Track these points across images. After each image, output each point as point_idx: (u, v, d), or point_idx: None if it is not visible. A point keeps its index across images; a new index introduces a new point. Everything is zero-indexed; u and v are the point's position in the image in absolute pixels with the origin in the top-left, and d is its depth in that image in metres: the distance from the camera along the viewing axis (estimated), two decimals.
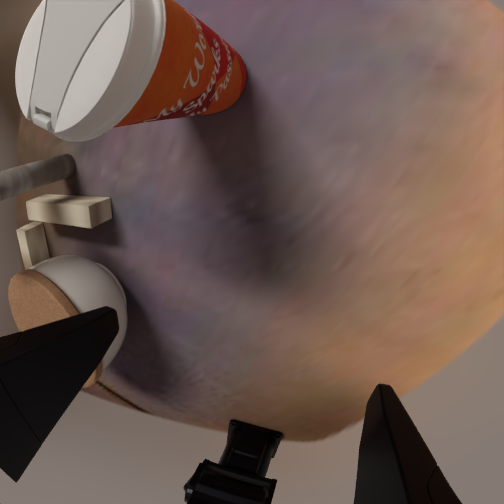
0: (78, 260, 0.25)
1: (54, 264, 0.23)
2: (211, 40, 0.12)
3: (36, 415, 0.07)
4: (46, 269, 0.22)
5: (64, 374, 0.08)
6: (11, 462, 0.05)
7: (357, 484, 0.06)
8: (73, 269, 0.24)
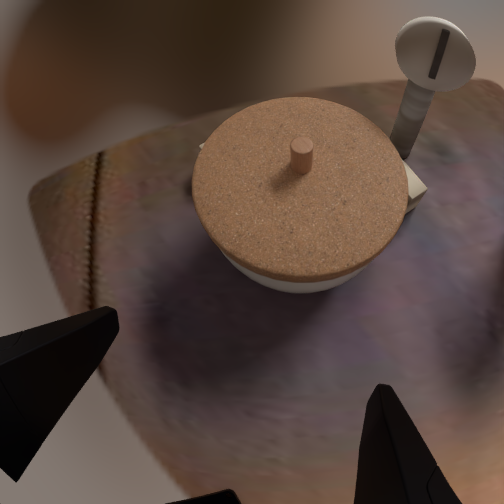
0: None
1: None
2: None
3: (36, 415, 0.07)
4: None
5: (64, 374, 0.08)
6: (11, 462, 0.05)
7: (357, 484, 0.06)
8: None
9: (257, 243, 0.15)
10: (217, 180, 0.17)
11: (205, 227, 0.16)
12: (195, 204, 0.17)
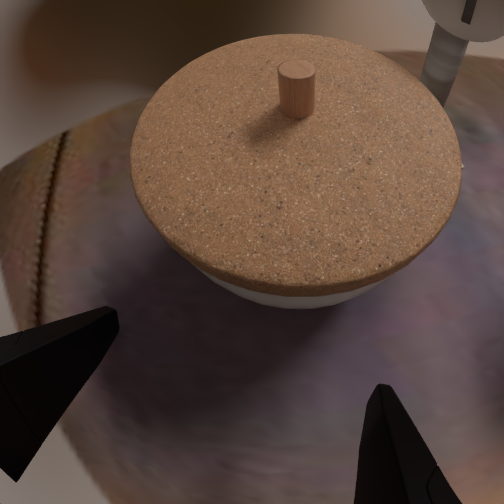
0: None
1: None
2: None
3: (36, 415, 0.07)
4: None
5: (64, 374, 0.08)
6: (11, 462, 0.05)
7: (357, 484, 0.06)
8: None
9: (219, 226, 0.09)
10: (165, 132, 0.10)
11: (140, 203, 0.10)
12: (131, 169, 0.10)
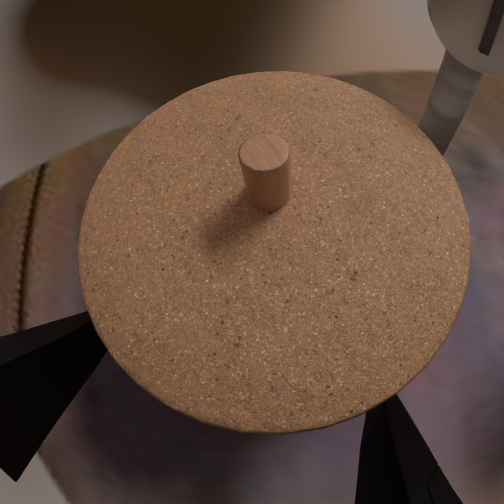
0: None
1: None
2: None
3: (36, 415, 0.07)
4: None
5: (64, 374, 0.08)
6: (11, 462, 0.05)
7: (358, 484, 0.06)
8: None
9: (170, 362, 0.07)
10: (113, 223, 0.09)
11: (90, 314, 0.08)
12: (79, 268, 0.09)
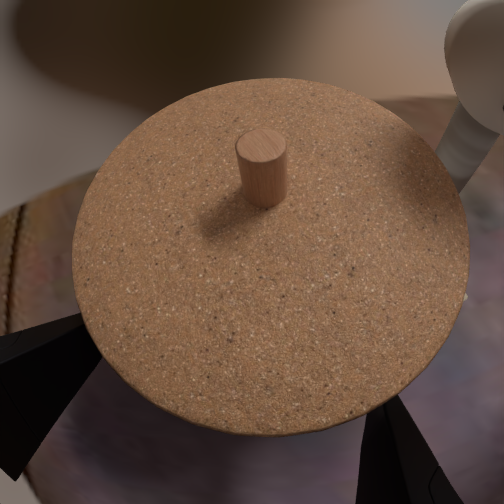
0: None
1: None
2: None
3: (35, 414, 0.07)
4: None
5: (63, 373, 0.08)
6: (10, 461, 0.05)
7: (359, 484, 0.06)
8: None
9: (160, 358, 0.07)
10: (108, 219, 0.09)
11: (80, 310, 0.08)
12: (72, 263, 0.08)
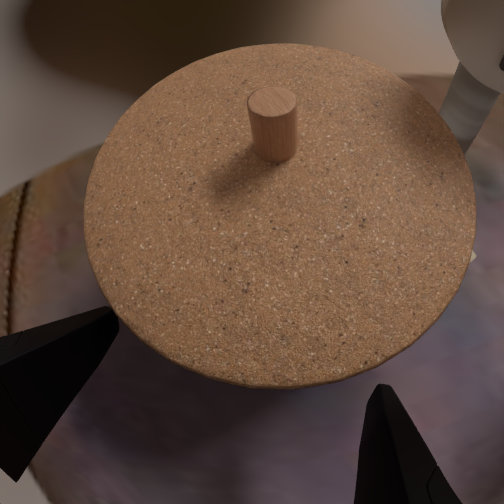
0: None
1: None
2: None
3: (36, 415, 0.07)
4: None
5: (64, 374, 0.08)
6: (11, 462, 0.05)
7: (357, 484, 0.06)
8: None
9: (175, 312, 0.07)
10: (120, 180, 0.09)
11: (93, 270, 0.08)
12: (84, 226, 0.09)
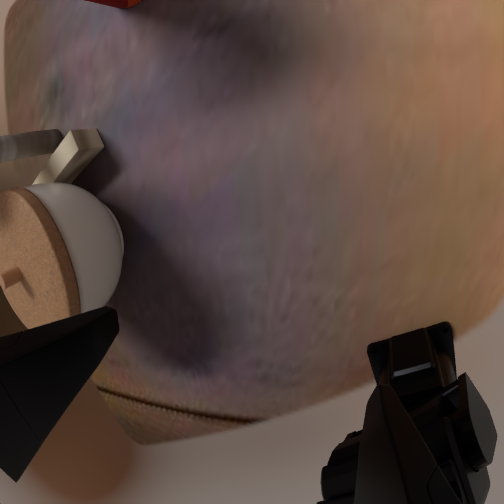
0: None
1: None
2: None
3: (36, 415, 0.07)
4: None
5: (64, 374, 0.08)
6: (11, 462, 0.05)
7: (357, 484, 0.06)
8: None
9: (57, 315, 0.18)
10: None
11: None
12: None
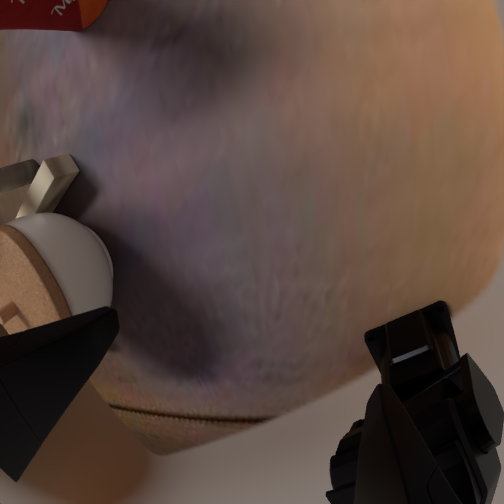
0: None
1: None
2: None
3: (36, 415, 0.07)
4: None
5: (64, 374, 0.08)
6: (11, 462, 0.05)
7: (357, 484, 0.06)
8: (22, 217, 0.20)
9: None
10: None
11: None
12: None
